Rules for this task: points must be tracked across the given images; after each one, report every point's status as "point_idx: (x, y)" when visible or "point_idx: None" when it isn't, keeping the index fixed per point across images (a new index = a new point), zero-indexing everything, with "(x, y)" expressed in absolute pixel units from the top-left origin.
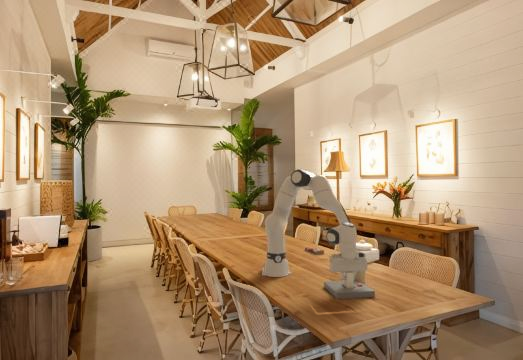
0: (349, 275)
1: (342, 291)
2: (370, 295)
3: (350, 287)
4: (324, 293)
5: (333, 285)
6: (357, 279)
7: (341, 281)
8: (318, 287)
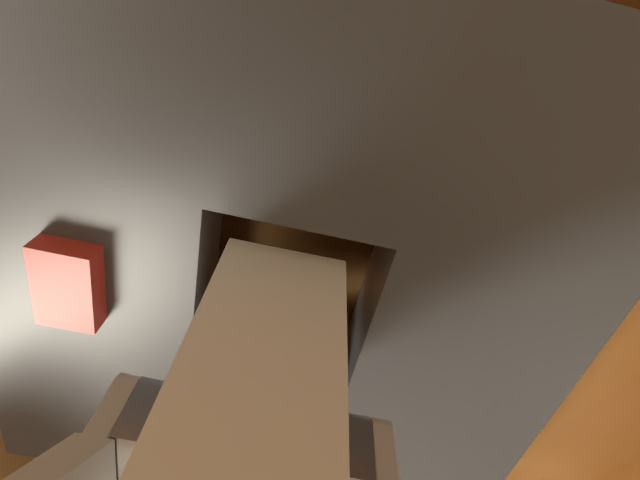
0: (269, 469)
1: (614, 109)
2: None
3: (286, 255)
4: (630, 324)
5: (474, 409)
6: (2, 477)
7: None
8: (511, 476)
